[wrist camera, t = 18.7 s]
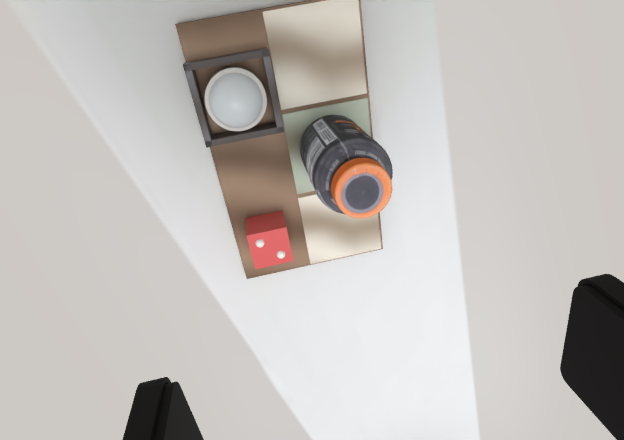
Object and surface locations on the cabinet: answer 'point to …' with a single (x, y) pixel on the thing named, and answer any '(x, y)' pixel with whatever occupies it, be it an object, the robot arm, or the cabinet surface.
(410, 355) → the cabinet surface
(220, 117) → the dome
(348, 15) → the game board
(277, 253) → the red die
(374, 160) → the pill bottle
